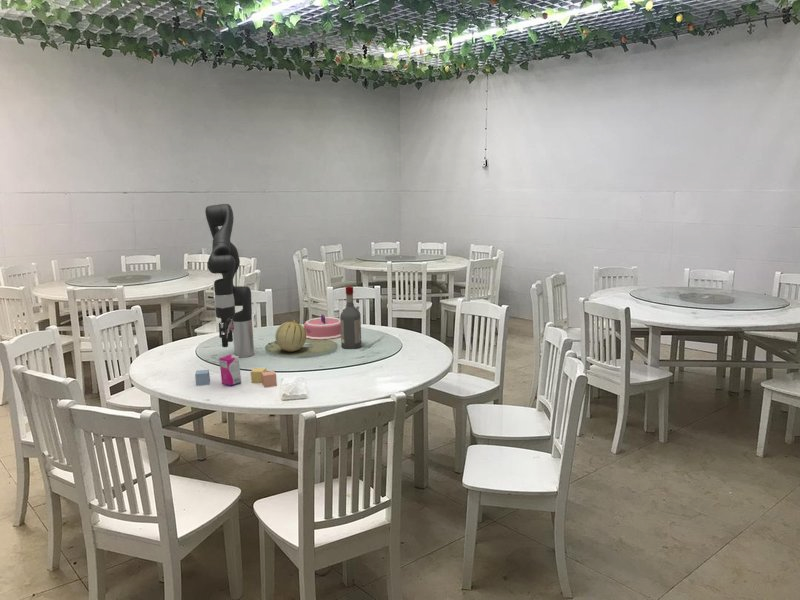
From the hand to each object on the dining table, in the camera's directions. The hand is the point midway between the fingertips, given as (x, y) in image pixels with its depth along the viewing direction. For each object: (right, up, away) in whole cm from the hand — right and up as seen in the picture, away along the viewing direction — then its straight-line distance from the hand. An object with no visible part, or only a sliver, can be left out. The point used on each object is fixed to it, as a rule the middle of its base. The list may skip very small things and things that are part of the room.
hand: (227, 344), depth 244 cm
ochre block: (+11, -16, +6) cm, 20 cm away
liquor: (+46, -5, +55) cm, 72 cm away
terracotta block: (+17, -17, +1) cm, 24 cm away
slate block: (-12, -17, +5) cm, 21 cm away
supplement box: (+1, -17, +3) cm, 17 cm away
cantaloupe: (+17, -7, +49) cm, 53 cm away
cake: (+29, -1, +81) cm, 86 cm away
